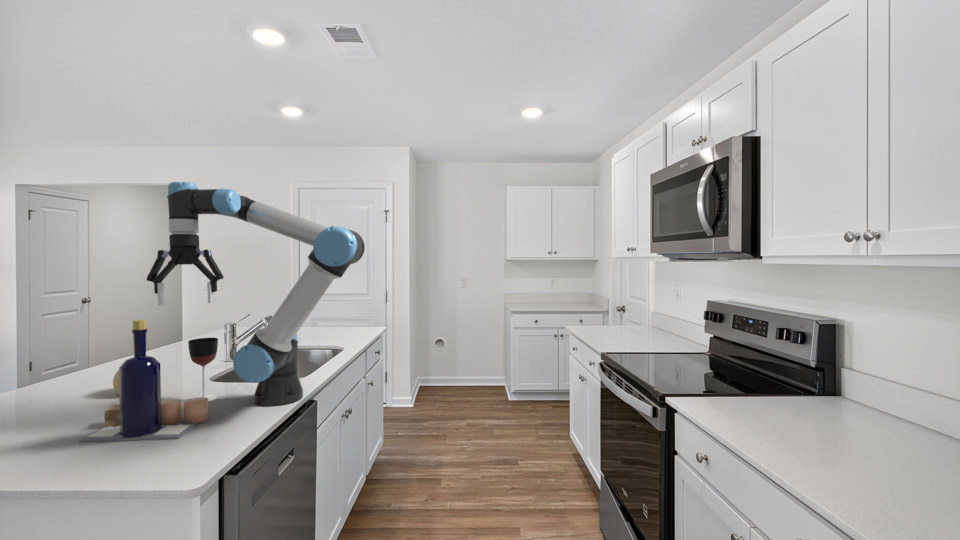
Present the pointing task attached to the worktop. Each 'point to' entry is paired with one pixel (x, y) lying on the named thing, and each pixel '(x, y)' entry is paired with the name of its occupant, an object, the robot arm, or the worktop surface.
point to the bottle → (139, 389)
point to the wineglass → (203, 356)
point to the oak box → (112, 416)
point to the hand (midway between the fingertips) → (186, 303)
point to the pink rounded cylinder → (170, 411)
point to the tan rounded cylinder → (195, 410)
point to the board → (114, 435)
